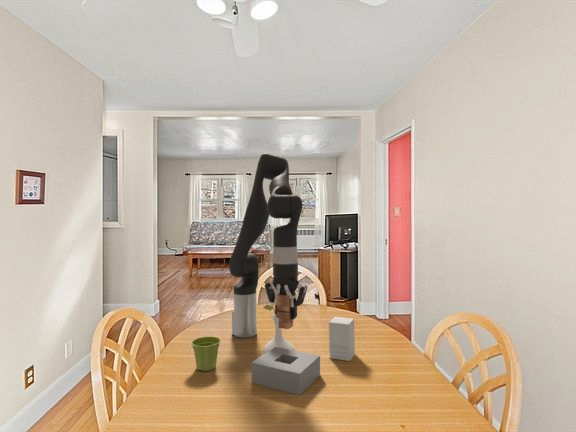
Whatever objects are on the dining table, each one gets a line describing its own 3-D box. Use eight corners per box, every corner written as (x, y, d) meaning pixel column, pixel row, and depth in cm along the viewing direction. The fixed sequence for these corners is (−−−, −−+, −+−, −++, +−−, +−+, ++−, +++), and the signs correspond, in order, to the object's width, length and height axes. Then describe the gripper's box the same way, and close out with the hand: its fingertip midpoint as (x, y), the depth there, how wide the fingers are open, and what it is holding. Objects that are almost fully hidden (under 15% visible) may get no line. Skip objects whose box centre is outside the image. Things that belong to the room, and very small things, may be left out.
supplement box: (355, 353, 129) (355, 318, 129) (349, 361, 122) (349, 324, 122) (335, 350, 132) (335, 316, 132) (328, 358, 125) (328, 321, 125)
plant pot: (189, 364, 121) (189, 338, 121) (217, 359, 125) (217, 334, 125) (193, 376, 113) (193, 348, 112) (224, 370, 116) (223, 343, 116)
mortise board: (251, 382, 108) (251, 362, 108) (275, 364, 120) (275, 346, 120) (299, 395, 100) (299, 373, 100) (320, 374, 113) (320, 355, 113)
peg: (276, 327, 109) (276, 294, 109) (283, 323, 113) (283, 291, 113) (288, 330, 107) (288, 296, 107) (295, 326, 111) (295, 293, 111)
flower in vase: (301, 354, 129) (301, 283, 129) (279, 364, 121) (278, 289, 120) (275, 345, 138) (274, 279, 137) (252, 354, 129) (252, 283, 129)
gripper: (312, 261, 110) (312, 317, 110) (271, 258, 116) (272, 311, 117) (301, 264, 103) (301, 324, 103) (258, 261, 110) (259, 318, 110)
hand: (285, 317), depth 110 cm, fingers closed on peg, 4 cm apart
